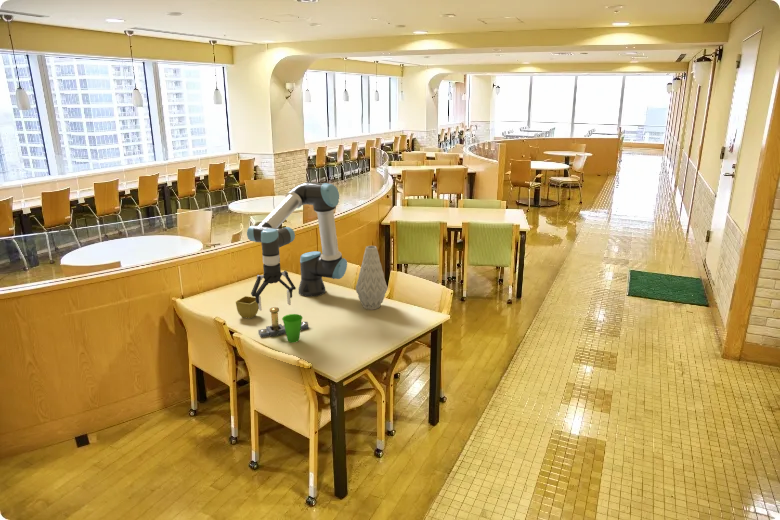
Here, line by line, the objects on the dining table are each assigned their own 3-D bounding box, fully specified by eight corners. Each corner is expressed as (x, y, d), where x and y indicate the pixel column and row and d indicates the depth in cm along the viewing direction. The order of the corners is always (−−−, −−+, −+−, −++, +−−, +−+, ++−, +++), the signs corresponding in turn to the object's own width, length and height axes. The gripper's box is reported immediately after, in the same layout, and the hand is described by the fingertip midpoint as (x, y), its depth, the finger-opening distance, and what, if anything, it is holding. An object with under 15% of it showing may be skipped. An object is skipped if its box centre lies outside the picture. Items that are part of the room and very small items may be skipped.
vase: (351, 310, 275) (350, 249, 266) (361, 299, 291) (360, 241, 281) (382, 314, 271) (382, 252, 262) (390, 303, 286) (391, 244, 277)
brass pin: (278, 330, 252) (277, 306, 248) (281, 333, 248) (279, 309, 245) (270, 331, 250) (268, 308, 246) (272, 335, 246) (270, 311, 243)
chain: (305, 323, 259) (305, 319, 258) (310, 329, 253) (310, 324, 252) (257, 332, 249) (257, 328, 248) (261, 338, 243) (261, 333, 242)
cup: (284, 336, 245) (283, 314, 242) (304, 335, 246) (303, 313, 243) (282, 344, 237) (280, 322, 233) (302, 344, 237) (301, 321, 234)
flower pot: (261, 314, 270) (260, 297, 267) (251, 320, 262) (250, 303, 259) (246, 312, 273) (245, 295, 270) (236, 318, 265) (235, 301, 262)
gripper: (295, 257, 248) (298, 299, 254) (241, 264, 237) (245, 308, 244) (300, 261, 241) (303, 304, 248) (245, 269, 231) (249, 314, 237)
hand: (274, 306), depth 246 cm, fingers open, 13 cm apart
